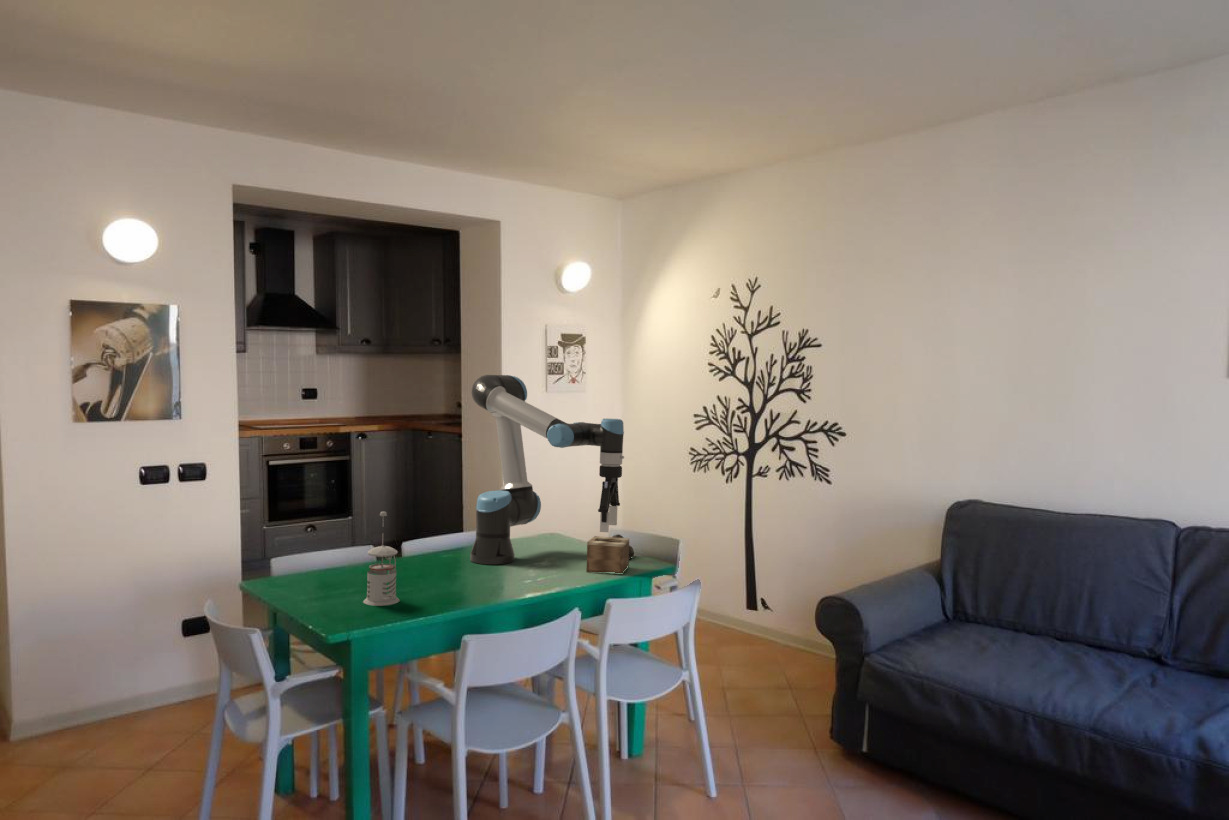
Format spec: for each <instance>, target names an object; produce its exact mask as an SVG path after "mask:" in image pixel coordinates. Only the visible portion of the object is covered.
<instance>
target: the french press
mask: <svg viewBox="0 0 1229 820" xmlns="http://www.w3.org/2000/svg"><path fill="white" fill-rule="evenodd" d="M387 513H388V512H386V511H380V513H379V516H380V517H382V526H385V525H384V521H385V520H384V518H385V517H387V516H388V515H387ZM381 536H382V541H381V543H382V544H381V545H380V546H379V545H378V546H375V547H373V548H370V549H369V550H368V551H367V552H366V553H367V555H368V556H371V557H378V558H379V557H381V563H374V564H370V565H369V566H368V568H369V570H368V571H367V578H366V579H367V582H366V583H367V585H366V586H367V587H366V598H365V599H364V600H363V601H362V603H363V604H366V605H368V606H372V607H373V606H375V607H376V606H378V607H380V606H381V607H382V606H391V605H395V604H397V603H399V602H400V601H401V600H400V599H399V598H398V597H397V582H396V581H397V570H396V568H397V566H396V565H397V562H396V555H397V554H398V550H397V549H395V548H393V547H391V546H387V545H384V534H382V535H381ZM384 557H385V560H389V563H383V561H384V559H383V558H384ZM392 559H394V564H393V563H391V560H392ZM387 588H388V589H387Z"/></svg>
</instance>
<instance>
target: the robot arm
mask: <svg viewBox="0 0 1229 820" xmlns="http://www.w3.org/2000/svg"><path fill="white" fill-rule="evenodd" d="M471 397H472V399H473V402H475V404H476V405H478V406H479V407H480V408H483V410H486V411H487V412H490V415H491V416H492V417H494V418H495V423H496V430H497V431H496V433H497V439H498V446H499V448H498V449H499V456H500V462H501V463H500V464H501V472H502V480H503V481H502V482H503V484H502V486H501V487H500V488H499V489H500V490H490V491H486V492H485V491H484V492H482V493H481V494H479V495H478V497H477V500H476V507H475V508H476V511H475V512H476V514H475V515H476V521H475V523H476V524H475V528H476V529H475V540H474V542H473V545H472V548H471V551H470V557H469V558H470V559H469V560H470V562H473V563H476V564H481V565H504V564H510V563H513V562H514V561H515V555H516V554H515V550H514V547H513V543H512V540H511V527H515V526H520V525H527V524H528V523H529V524H530V523H531V522H533V521H535V520H536V519H537V518H538V516H539V515H540V513H541V508H542V502H541V501H542V500H541V498H540V496H539V495H538V494H537V493H536V492H535V491H534V489H533V488H534V487H533V484H532V483H530V481H528V475H527V474H528V473H527V468H526V467H527V466H526V461H525V460H526V458H525V451H524V443H523V435H522V434H523V433H522V427H524V428H526V429H528V430H530V431H532V432H534V433H536V434H538V435H539V436H542V437H543V438H545V439H547V441H548V443H549V444H550V446H552V447H554V448H561V449H563V448H569V447H579V446H580V447H583V446H594V447H599V448H600V451H599V464H600V466H599V477H601V478H605V479H604V481H602V482H601V483H602V485H601V486H602V488H601V494H600V500H599V501H600V502H599V508H598V509H597V511H598V513H600V521H599V522H600V524H599V532H600V533H609V532H610V531H609V526H618V507H619V506H621V503H620V499H619V498H620V496H619V478H622V476H623V467H622V464H623V460H624V459H625V456H624V455H623V453H624V452H623V451H624V449H623V447H624V434H625V431H624V430H625V429H624V421H623V420H622V419H620V418H602V419H601V421H600V423H593V422H592V423H590V422H584V421H582V422H580V421H579V422H573V423H567V422H565V421H563V420H561V419H560V418H558V417H555V416H554V415H552V414H550V413H547V412H546V411H544V410H542V409H540V408H538V407H536V406H535V405H532V404H530V403H528V402H527V400H528V389H527V386H526V385H525V383H524V381H523V380H522V379H521V378H520V377H518V376H515V375H514V376H513V375H509V374H506V375H505V374H499V375H498V374H485V375H481V376H480V377H478V378H477V379H475V381H474V383H473V384H472V387H471Z"/></svg>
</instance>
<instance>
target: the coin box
mask: <svg viewBox="0 0 1229 820" xmlns="http://www.w3.org/2000/svg"><path fill="white" fill-rule="evenodd" d="M586 545H587V546H586V570H585V571H586V573H591V572H615V573H623V571H624V570H625V569H626V568H627V566H628V567H629V564H630V563H629V562H630V561H629V560H630V559H629V545H630V538H624V537H623V538H615V537H612V536H600V535H599V536H598V535H594V536H592V538H590V539H589V540H588V541H587V542H586ZM623 574H624V573H623Z"/></svg>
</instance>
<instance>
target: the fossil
mask: <svg viewBox="0 0 1229 820" xmlns="http://www.w3.org/2000/svg"><path fill="white" fill-rule="evenodd" d="M611 537H615V538H624V537H623V536H622V534H618V533H617V534H614V535H613V536H611ZM634 556H635V550H634V548H633V547H632V546H631V545H630V544H629V558H631V557H633V558H634ZM631 559H632V558H631Z"/></svg>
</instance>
